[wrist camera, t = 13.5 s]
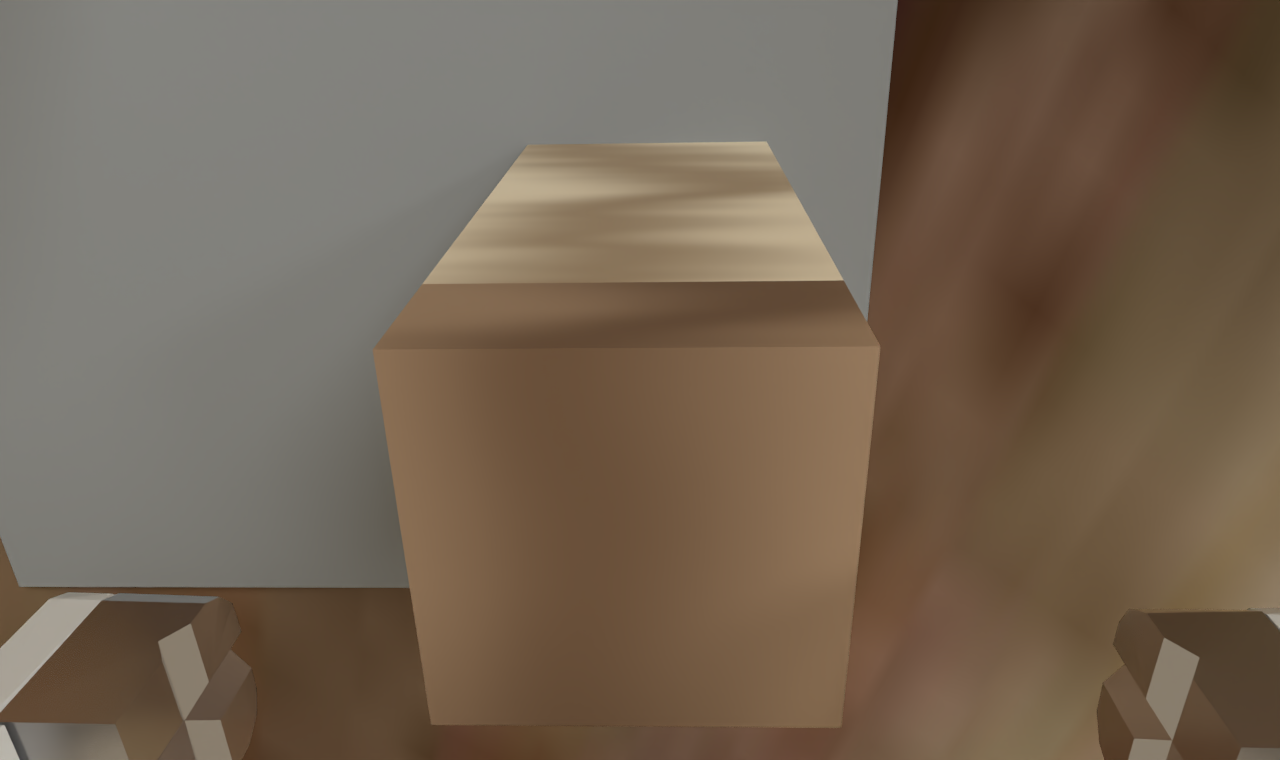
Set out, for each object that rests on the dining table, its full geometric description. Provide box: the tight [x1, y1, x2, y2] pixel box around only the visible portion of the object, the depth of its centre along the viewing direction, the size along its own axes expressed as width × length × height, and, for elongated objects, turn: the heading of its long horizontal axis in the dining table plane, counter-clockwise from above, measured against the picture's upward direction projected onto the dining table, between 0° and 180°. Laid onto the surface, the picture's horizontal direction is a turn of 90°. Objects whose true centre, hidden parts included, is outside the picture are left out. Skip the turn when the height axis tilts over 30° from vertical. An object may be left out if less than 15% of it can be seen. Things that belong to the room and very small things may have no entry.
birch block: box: [373, 142, 880, 728], centre depth 15 cm, size 5×5×11 cm
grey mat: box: [0, 0, 898, 588], centre depth 20 cm, size 22×18×1 cm
